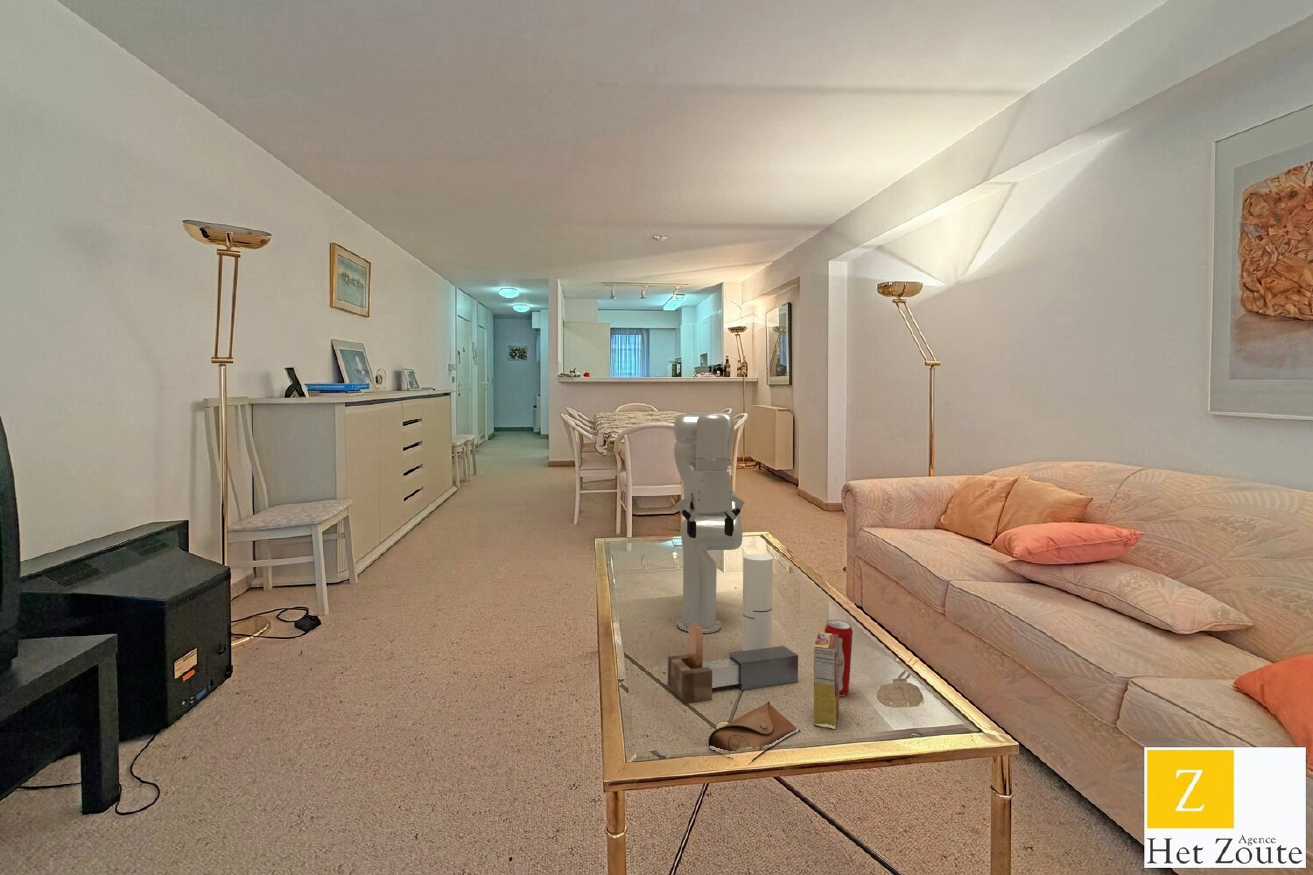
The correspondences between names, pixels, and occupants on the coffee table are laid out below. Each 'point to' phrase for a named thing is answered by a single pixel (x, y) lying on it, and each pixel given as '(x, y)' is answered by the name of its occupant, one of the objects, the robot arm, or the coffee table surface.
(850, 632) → the beverage can
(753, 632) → the cylindrical container
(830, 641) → the candy box
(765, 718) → the sunglasses case
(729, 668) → the tan wooden slab
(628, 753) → the coffee table surface
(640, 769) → the coffee table surface
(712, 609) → the robot arm
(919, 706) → the coffee table surface
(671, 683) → the socket
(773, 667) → the grey metal block
